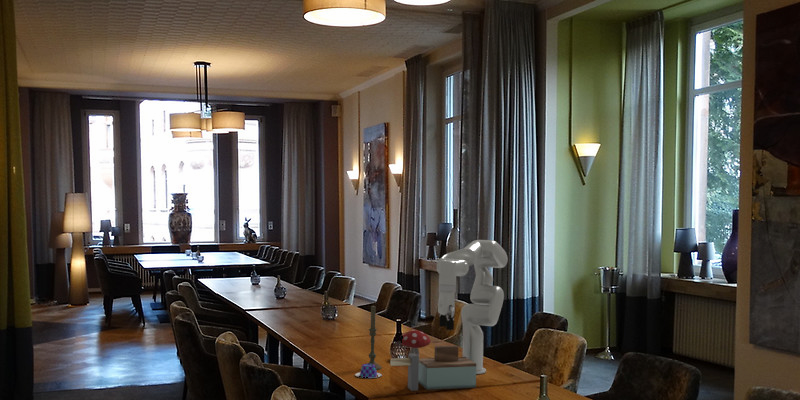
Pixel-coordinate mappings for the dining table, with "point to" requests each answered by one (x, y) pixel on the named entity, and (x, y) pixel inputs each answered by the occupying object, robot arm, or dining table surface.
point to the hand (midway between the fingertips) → (446, 327)
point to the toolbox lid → (446, 358)
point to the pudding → (368, 371)
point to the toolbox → (439, 376)
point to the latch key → (400, 361)
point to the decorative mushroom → (415, 340)
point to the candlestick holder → (372, 334)
